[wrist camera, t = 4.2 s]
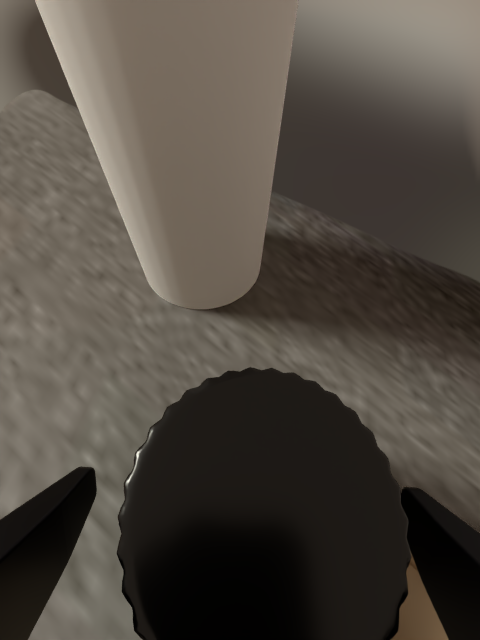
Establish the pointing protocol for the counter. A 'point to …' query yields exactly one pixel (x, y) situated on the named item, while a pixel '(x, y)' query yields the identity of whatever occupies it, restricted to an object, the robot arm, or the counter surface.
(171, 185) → the paper towel roll
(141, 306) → the counter surface
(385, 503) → the supplement bottle
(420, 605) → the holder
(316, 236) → the counter surface
